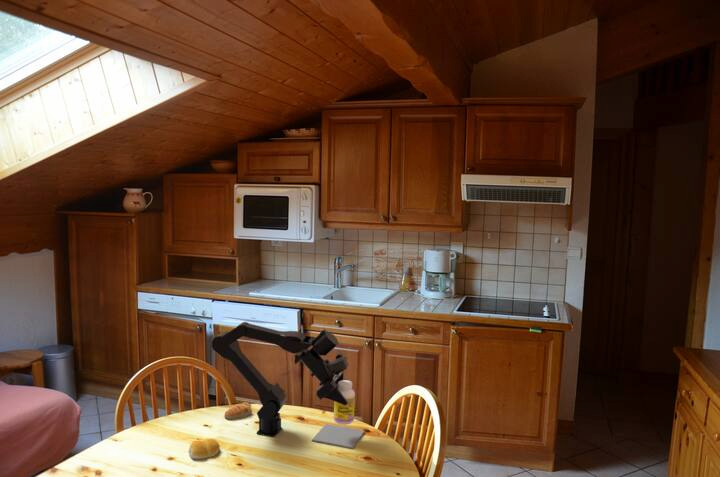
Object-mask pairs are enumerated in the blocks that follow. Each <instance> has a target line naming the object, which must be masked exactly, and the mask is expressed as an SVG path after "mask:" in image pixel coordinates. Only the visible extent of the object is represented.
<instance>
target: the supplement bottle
mask: <svg viewBox="0 0 720 477" xmlns="http://www.w3.org/2000/svg"><path fill="white" fill-rule="evenodd" d="M338 383H339V391H340V392H341V394H342V395H343V396H344V398H345V399H346V401H347V402H348V404H347V405H343V404H341V403H338V402H336V401H333V402H334V405H333V422H335V423H336V424H338V425H341V426H342V425H344V426H345V425H351V424H353V423H354V420H355V404H356V402H355V401H356V393H355V390H354V389H353V382H352V381H351V380H345V379H344V380H342V381H339V382H338Z"/></svg>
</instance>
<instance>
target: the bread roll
mask: <svg viewBox="0 0 720 477" xmlns="http://www.w3.org/2000/svg"><path fill="white" fill-rule="evenodd" d="M219 451H220V444H219V442H218V441H217V440H216V439H214V438H206V439H202V440H201V441H200V440H196V441H193V442H192V443H191V444H190V445H189V449H188V454H189V457H190V458H191V459H194V460H203V459H206V458H211V457H214V456H216V455H217V454H218V452H219Z"/></svg>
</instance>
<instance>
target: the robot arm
mask: <svg viewBox="0 0 720 477" xmlns="http://www.w3.org/2000/svg"><path fill="white" fill-rule="evenodd" d="M242 337H243V338H249V339H253V340H257V341H261V342H264V343H269V344H273V345H275V346H278V347H279V348H281V349H282V350H283V351H286V352H288V353H290V354H295V355H294V365H296V364H297V363H299V362H300V361H301V362H302V364H304V366H305V367H306V368H307V369H308V371H310V372H311V373H310V376H311V377H312V378H313V377H315V379H317V380H318V381H319V387H318V388H317V390H316V397H317V398H318V399H319V400H322V399H328V400H331V401H333V402H334V401H336V402H338V403H341V404H343V405H347V404H348V402H347V401H346V399H345V398H344V396H343V395H342V394H341V392H340V391H339V383H338V382H339V381H342V380H345V373H346V372H345V371H346V370H347V369H348V367H349V362H348V358H347V357H346V355H344V354H343V353H341V352H340V353H337V354H336V355H335V358H334V359H333V360H331V361H330V360H329V359H328V358H325V359H324V357H326V356H327V355H329V353H331V352H332V351H333V350H334V349H335V348H336V347H338V345H339V340H338V339H337V337H336V336H335V335H334V334H333V333H331V332H330V331H327V330H326V329H325V328H324V329H323V330H321V331H320V333H319V334H318V335H316V336H311V335H307V334H305V333H304V332H303V331H296V330H287V331H286V330H283V331H281V330H276V329H272V328H268V327H264V326H260V325H256V324H252V323H249V322H247V321H243V322H241V323H240V324H238V325H237V326H235V327H234V328H233V329H232V330H229V331H227V330H226V331H222V332H221V333H220V334H218V335H217V336H215V337H213V339H212V340H211V341H212V342H211V349H212V350H213V351H214V353H216V354H218V356H219V357H220V358H223V359H225V360H228V361H229V362H230V363H231V364H232V365H233V366H234V367H235V368H236V370H237V371H238V372H239V373H240V374H241V375H242V377H243V378H244V379H245V380H246V381H247V383H249V385H250V386H251V387H252V388H253V390H255V392H256V393H257V395H258V398H259V402H260V403H261V405H262V406H261V407H260V408H259V409H258V410H257V412H256V415H257V418H258V430H257V431H256V434H257V435H261V436H267V437H272V438H273V437H274V438H275V436H277V435H278V433H280V432H281V431H282V430H283V427H282V418H281V413H280V412H279V411H280V410H281V409H282V408H283V407H284V405H285V404H286V402H287V395H286V393H285V392H286V390H284V389H283V388H282V387H281V386H280V384H279V383H278V382H276V383H275V384H271V383H270V382H269V381H268V380H267V379H266V378H265V377H264V376H263V374H261V372H260V371H259V370H258V369H257V367H256V366H255V365H254V364H253V362H251V361H250V360H249V358H248V357H247V356H246V355H245V354H244V353H243V351H242V349H241V347H240V344H239V343H240V342H239V341H238V340H239V339H241V338H242Z"/></svg>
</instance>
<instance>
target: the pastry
mask: <svg viewBox="0 0 720 477" xmlns="http://www.w3.org/2000/svg"><path fill="white" fill-rule="evenodd" d="M252 414H253V411H252V407H251V405H250V404H249V403H248V402H245V401H244V402H242V403H238V404H234V405H233V406H232V407H231V408H228V409H227V410H226V411H225V412H224V416H223V417H224V418H226V419H228V420H235V419H242V418H246V417H249V416H250V415H252ZM245 416H246V417H245Z"/></svg>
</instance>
